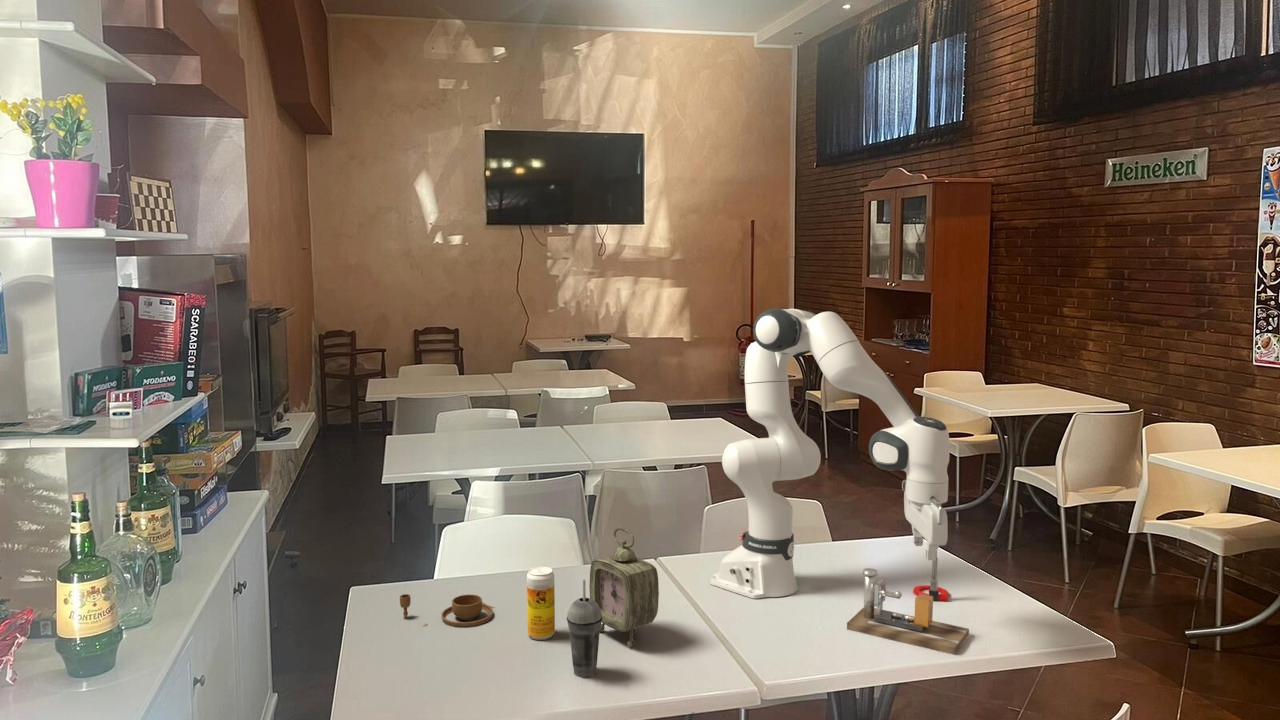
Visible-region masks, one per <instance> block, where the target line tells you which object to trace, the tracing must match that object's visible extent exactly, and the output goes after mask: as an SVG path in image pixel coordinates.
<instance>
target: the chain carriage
mask: <svg viewBox="0 0 1280 720" xmlns="http://www.w3.org/2000/svg"><path fill="white" fill-rule="evenodd" d="M886 584H887V578H886V577H882V578H880V579H879V580H878V581H877V582H875V600H874V606H875V607H874V608H877V614H876V615H875V616H874V621H876V622H881V623H885V624H889V625H894V626H898V627H903V628H907V629H911V630H916V631H920V632H922V631H923V630H924V629H925V628H926V627H929V625H930V624H931V623H932V621H933V617H934V616H933V614H934V613H933V611H934V609H933V608H934V601H933V596H929V595H924V594H919V595H916V597H915V598H914V616H913V615H909V616H908V614H903V613H900V612H893V611H891V612H890V610H886V609H883V608H884V607H883V604H884V601H886V596H883V595H879V589H880V590H885V591H887V589H886V587H887V586H886ZM885 610H886V611H885ZM899 613H900V614H899Z"/></svg>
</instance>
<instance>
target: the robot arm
mask: <svg viewBox="0 0 1280 720" xmlns="http://www.w3.org/2000/svg"><path fill="white" fill-rule="evenodd" d="M752 327H753V328H752V329H753V330H752V331H753V332H752V333H753V338H754V340H755V341H753V342H752V343H751V344H749V345H748V347H747V348H746V351H745V360H744V375H743V376H744V392H745V407H746V413H747V415H748V416H749V418H750V419H752V420H753V421H755V422H757V423H758V424H761V425H763V427H765V429H766V431H767V433H768V437H760V438H759V437H757V438H746V439H745V438H744V439H741V440H737V441H734V442H731V443H729V444H727V446H726V447H725V448H724V450H723V454H722V456H721V465H722V469H723V471H724V474H725V475H726V476H727V478H728V479H729V480H730V481H732V482H733V483H734V484H735V485H737V486H738V487H739V489H740V490H741V492H742V493H743V495H744V498H745V500H746V504H747V513H748V514H747V516H748V517H747V518H748V528H747V530H746V531H744V532H743V533H742V534H741V535H739V539H738V540H739V541H741V542H742V543H741V544H740V545H739V546H738V547H736V548H734V549H733V550H732V551H730V552H729V553H727V554H726V555H725V556H723V558H722V560H721V561H720V565H719V569H718V571H716V572H715V573H713V574H712V575H711V577H710V578H709V579H710V580H709V583H710V585H711V586H712V585H713V586H714V587H717V588H719V589H720V588H721V589H724V590H727V591H730V592H732V593H735V594H739V595H741V596H745V597H748V598H750V599H763V598H777V597H778V598H779V597H785V596H790V595H792V594H794V593H796V591H797V590H798V588H799V587H798V584H797V580H796V577H795V570H794V569H795V568H794V561H793V560H794V559H793V558H794V553H795V552H794V551H795V540H794V539H795V537H794V536H795V534H794V533H793V513H794V511H793V505H792V503H791V502H790V501H789V499H788V498H786V497H785V496H783V495H782V494H780V493H777V492H775V491H774V488H773V483H774V482H777V481H779V482H780V481H781V482H782V481H791V480H800V479H803V478H806V477H810V476H814V475H815V473H816V472H817V471H819V470H818V469H819V468H820V464H821V459H822V457H821V451H820V448H819V446H818V445H817V443H816V442H815V441H814V440H813V439H812V438H811V437H809V436H808V435H806V433H804V432H803V430H802V429H801V428H800V426H799V425H798V423H797V421H796V419H795V417H794V414H793V410H792V404H791V398H790V397H791V396H790V389H789V388H790V387H789V386H790V385H789V373H788V364H789V361H790V360H791V358H796V359H798V358H801V357H803V356H804V355H806V354H809V353H810V354H812V357H813V358H814V359H815V361H816V364H817V365H818V367H819V369H820V370H821V372H822V374H823V375H824V377H825V379H826V380H827V381H828V382H829V383H830V384H831V385H833V387H835V388H837V389H839V390H842V391H845V392H848V393H849V392H850V393H854V394H858V395H861V396H864V397H866V398H868V399H870V400H871V401H873V402H874V403H875V404H876V405H877V406H878V408H879V409H880V410H881V411H882V413H883V414H884V415H885V416H886V418H887V420H888V421H889V423H890V424H891V425H892V427H888V428H887V427H886V428H882V429H880V430H878V431H876V432H875V433H874V434H872V436H871V437H870V440H869V442H868V454H869V456H870V459H871V461H872V463H873V464H874V465H875V466H876V468H879V469H880V470H883V471H891V472H893V471H902V472H903V471H904V472H905V475H906V479H903V480H902V483H901V488H902V489H901V490H902V491H903V492H904V493H903V494H904V495H903V503H904V505H903V507H904V508H903V510H904V511H903V512H904V516H905V519H906V520H907V521H908V523H909V524H910V525H911V531H912V535H913V539H912V540H913V541H912V543H913V545H915V547H922V546H923V545H924V540H925V541H926V545H927V550H926V549H925V558H926V559H927V560H928V561H933V560H936V552H937V553H938V549H939V547H940V546H946V545H947V543H948V527H949V526H948V514H947V511H946V509H944V508H943V506H942V504H945V503H947V502H948V499H949V498H948V497H949V476H948V466H949V463H950V451H951V450H950V444H951V443H950V435H949V434H950V433H949V430H948V427H947V426H946V424H945V423H944V422H942V421H941V420H939V419H936V418H933V417H926V416H921V415H919V414H918V413H917V411H916V410H915V409H914V407H913V406H912V405H911V403H910V402H909V400H908V399H907V398H906V397H905V396H904V394H903V393H902V392H901V390H900V388H898V386H897V384H895V382H894V381H893V380H892V379H891V377H890V376H889V375H888V374H887V373H886V372H885V371H884V370H883V369H882V368H881V367H880V366H878V364H877V363H876V362H875V361H874V360H873V359H872V358H871V357H870V355H869V354H868V353H867V351H866V349H864V347H863V346H862V344H861V342H860V341H859V339H858V338H857V336H856V335H855V333H854V332H853V330H852V329H851V328H850V326H849V325H848V324H847V323H846V322H845V320H844V319H843V318H841V316H840V315H839V314H837V312H835V311H834V312H833V311H822V312H820V313H818V314H816V313H814V312H813V311H809V310H801V309H798V308H797V309H796V308H788V309H787V308H786V309H785V308H784V309H781V308H772V309H767V310H764V311H763V312H761V313H759V315H758V316H757V318H756V319H755V320H754V323H753V326H752Z"/></svg>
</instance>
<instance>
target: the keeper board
mask: <svg viewBox="0 0 1280 720" xmlns="http://www.w3.org/2000/svg"><path fill="white" fill-rule="evenodd" d="M884 610H885V611H887V610H886V609H884ZM889 611H890V610H889ZM890 612H892V611H890ZM898 613H899V614H901V613H900V612H898ZM876 614H877V607H874V616H875V615H876ZM907 615H908V614H907ZM863 616H864V606H863V607H862V608H861V609H860V610H859V611H858V612H857V613H856V614H855V615H854V616H852V617H851V619H849V620H848V621H847V622H846V630H848V631H853V632H858V633H861V634H865V635H870V636H874V637H878V638H883V639H887V640H890V641H896V642H900V643H903V644H908V645H912V646H917V647H920V648H925V649H929V650H932V651H938V652H941V651H942V652H941V653H945V652H946V654H949V653H950V655H956V653H958V651H959V650H960V648H961V647H962V645H963V644H964V643H963V642H965V641H966V640H967V639H968V637H969V636H970V628H967V627H963V626H958V625H954V624H949V623H945V622H940V621H936V620H932V623H931V624H930V625H929V627H926V628H925V629H924V630H923V631H922V632H920V631H916V630H911V629H907V628H903V627H898V626H894V625H889V624H885V623H881V622H876V621H874V618H873V619H866V618H864V617H863ZM908 616H910V615H908ZM958 649H959V650H958Z"/></svg>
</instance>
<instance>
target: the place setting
mask: <svg viewBox="0 0 1280 720" xmlns="http://www.w3.org/2000/svg"><path fill="white" fill-rule="evenodd" d="M411 602H412V601H411V594H407V593H405V594H400V596H399V605H400V607H401V608H402V609H403V613H402V614H403V616H404V617H402V619H403V620H407V619H409V616H408V614H409V613H408V612H409V611H408V608H409V607H410V606H411ZM495 608H496V607H495V606H491V605H489V604H486V603H485V602H483V598H482V597H481V596H479V595H477V594H462V595H458V596H455V597H454V598H453V599H452V600H451V606H449V607H447V608H445V609H444V610H443V611H441V619H442V621H443V623H445V624H446V625H448V626H451V627H456V628H469V627H476V626H479V625H482V624H485V623H487V622H489V620H491V618H492V617H493V614H494V609H495ZM482 611H483V612H486V613H487V614H488V616H486V617H485V618H481V619H478V620H475V619H476V618H477V616H478V615H480V614H481V612H482ZM452 613H453V615H454V616H455V617H457V618H458V619H459V620H461V622H460V621H454V620H450V619H447V616H449V615H450V614H452ZM471 620H474V621H471ZM464 621H466V622H464ZM421 626H422V627H424V628H426V627H428V626H429V624H428V623H426V624H423V625H421Z"/></svg>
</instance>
